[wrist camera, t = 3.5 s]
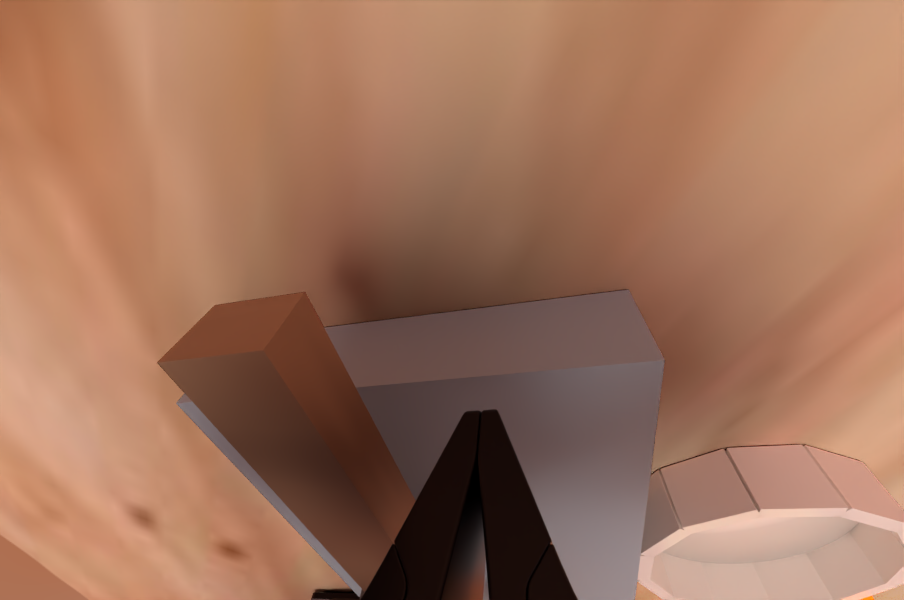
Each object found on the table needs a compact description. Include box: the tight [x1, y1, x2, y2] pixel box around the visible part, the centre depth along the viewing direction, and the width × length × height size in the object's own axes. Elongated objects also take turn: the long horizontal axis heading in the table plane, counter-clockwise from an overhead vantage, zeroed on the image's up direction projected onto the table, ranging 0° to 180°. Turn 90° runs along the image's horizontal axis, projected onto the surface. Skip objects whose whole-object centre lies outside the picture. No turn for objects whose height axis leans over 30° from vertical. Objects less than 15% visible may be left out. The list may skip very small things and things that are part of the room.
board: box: [176, 290, 665, 600], centre depth 16 cm, size 16×14×4 cm
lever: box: [157, 292, 416, 598], centre depth 13 cm, size 22×3×2 cm, turn 13°
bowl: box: [637, 445, 904, 600], centre depth 17 cm, size 10×10×2 cm
